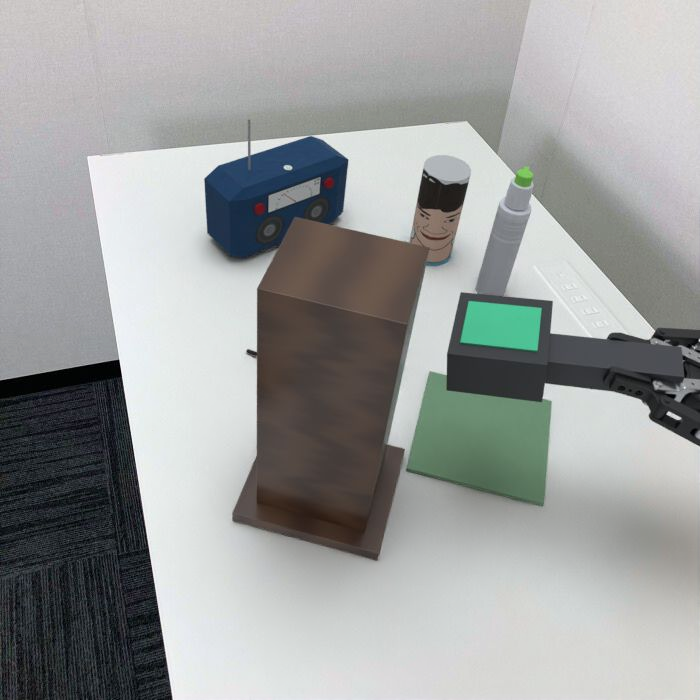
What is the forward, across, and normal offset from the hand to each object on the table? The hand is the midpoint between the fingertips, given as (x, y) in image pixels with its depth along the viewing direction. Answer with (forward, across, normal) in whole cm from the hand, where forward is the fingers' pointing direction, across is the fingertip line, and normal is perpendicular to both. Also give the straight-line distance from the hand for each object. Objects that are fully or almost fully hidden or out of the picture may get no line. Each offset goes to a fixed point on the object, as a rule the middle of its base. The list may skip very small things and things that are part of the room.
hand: (607, 358), depth 69 cm
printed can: (+19, -39, +24) cm, 49 cm away
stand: (+23, +7, +24) cm, 34 cm away
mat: (+6, -6, +23) cm, 24 cm away
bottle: (+8, -33, +23) cm, 41 cm away
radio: (+42, -36, +25) cm, 61 cm away
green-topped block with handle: (+3, 0, +3) cm, 5 cm away
